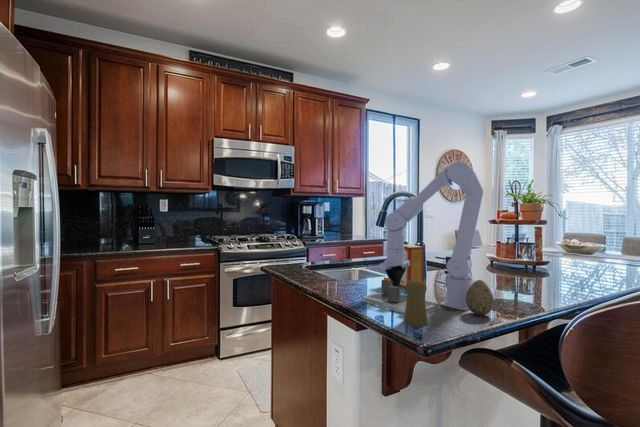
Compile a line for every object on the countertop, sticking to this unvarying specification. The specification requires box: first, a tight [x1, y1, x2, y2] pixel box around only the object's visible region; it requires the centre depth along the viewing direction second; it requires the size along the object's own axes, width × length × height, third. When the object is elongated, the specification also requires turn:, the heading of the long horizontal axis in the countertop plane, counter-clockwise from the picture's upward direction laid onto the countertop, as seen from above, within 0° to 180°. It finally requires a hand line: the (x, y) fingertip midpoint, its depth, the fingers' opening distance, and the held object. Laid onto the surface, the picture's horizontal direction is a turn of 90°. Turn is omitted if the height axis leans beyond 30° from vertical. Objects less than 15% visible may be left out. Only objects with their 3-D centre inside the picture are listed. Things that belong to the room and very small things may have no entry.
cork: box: [403, 280, 428, 327], centre depth 88 cm, size 6×6×11 cm
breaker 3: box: [380, 276, 393, 294], centre depth 111 cm, size 2×3×5 cm, turn 42°
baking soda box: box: [399, 243, 425, 290], centre depth 129 cm, size 10×6×16 cm
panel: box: [361, 291, 440, 315], centre depth 104 cm, size 12×20×2 cm, turn 42°
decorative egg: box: [466, 279, 495, 316], centre depth 95 cm, size 7×7×10 cm
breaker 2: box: [387, 286, 401, 302], centre depth 102 cm, size 2×3×4 cm, turn 42°
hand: (394, 289), depth 114 cm, fingers closed
